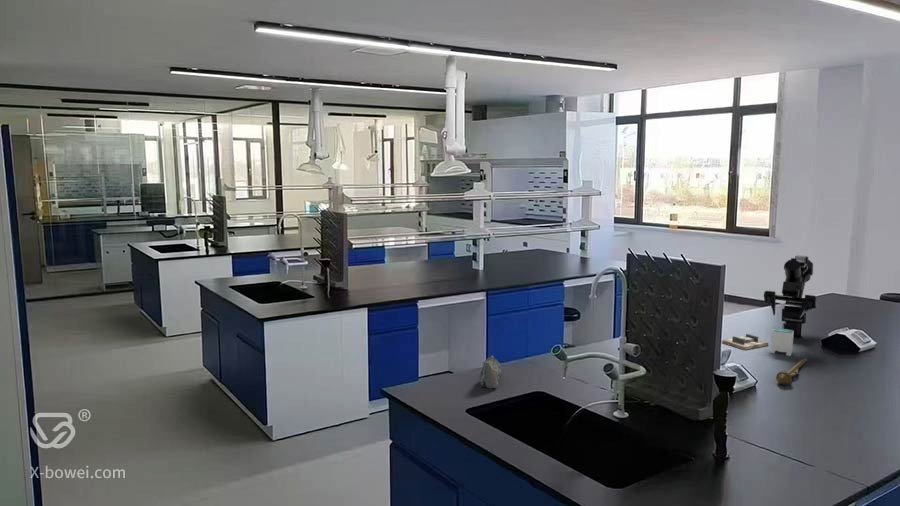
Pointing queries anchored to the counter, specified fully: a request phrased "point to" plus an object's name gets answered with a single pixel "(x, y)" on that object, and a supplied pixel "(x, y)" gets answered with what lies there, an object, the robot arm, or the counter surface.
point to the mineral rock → (490, 373)
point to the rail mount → (745, 342)
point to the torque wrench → (789, 373)
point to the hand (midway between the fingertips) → (786, 316)
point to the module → (782, 340)
